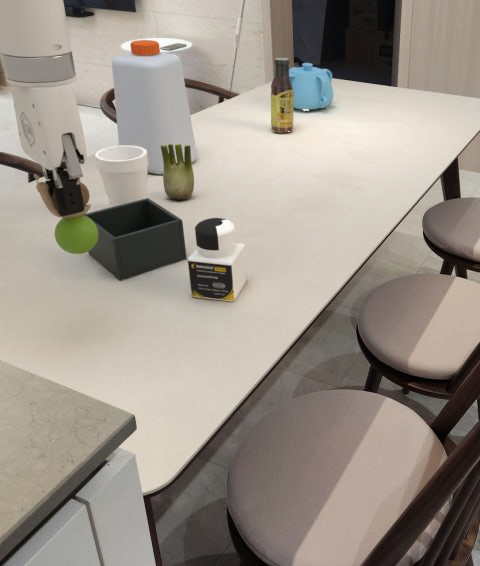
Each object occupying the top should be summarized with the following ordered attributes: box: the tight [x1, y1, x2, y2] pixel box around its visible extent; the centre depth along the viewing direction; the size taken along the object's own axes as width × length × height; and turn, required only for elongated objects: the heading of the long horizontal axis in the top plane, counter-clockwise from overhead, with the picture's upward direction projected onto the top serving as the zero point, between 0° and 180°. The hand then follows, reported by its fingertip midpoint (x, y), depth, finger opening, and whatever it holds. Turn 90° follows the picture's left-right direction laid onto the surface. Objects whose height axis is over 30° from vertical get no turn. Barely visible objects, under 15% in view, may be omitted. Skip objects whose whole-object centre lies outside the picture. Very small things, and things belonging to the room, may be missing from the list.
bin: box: [84, 197, 188, 281], centre depth 111 cm, size 12×12×8 cm
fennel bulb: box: [161, 144, 195, 201], centre depth 133 cm, size 6×5×12 cm
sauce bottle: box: [270, 57, 294, 133], centre depth 176 cm, size 7×6×20 cm
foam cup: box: [94, 145, 149, 207], centre depth 124 cm, size 10×9×13 cm
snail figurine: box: [33, 173, 98, 255], centre depth 84 cm, size 5×6×12 cm
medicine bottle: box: [187, 217, 248, 303], centre depth 102 cm, size 7×7×12 cm
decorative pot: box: [289, 62, 334, 110], centre depth 201 cm, size 16×16×14 cm
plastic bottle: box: [111, 39, 198, 175], centre depth 147 cm, size 15×15×28 cm
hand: (67, 209), depth 84 cm, fingers closed on snail figurine
